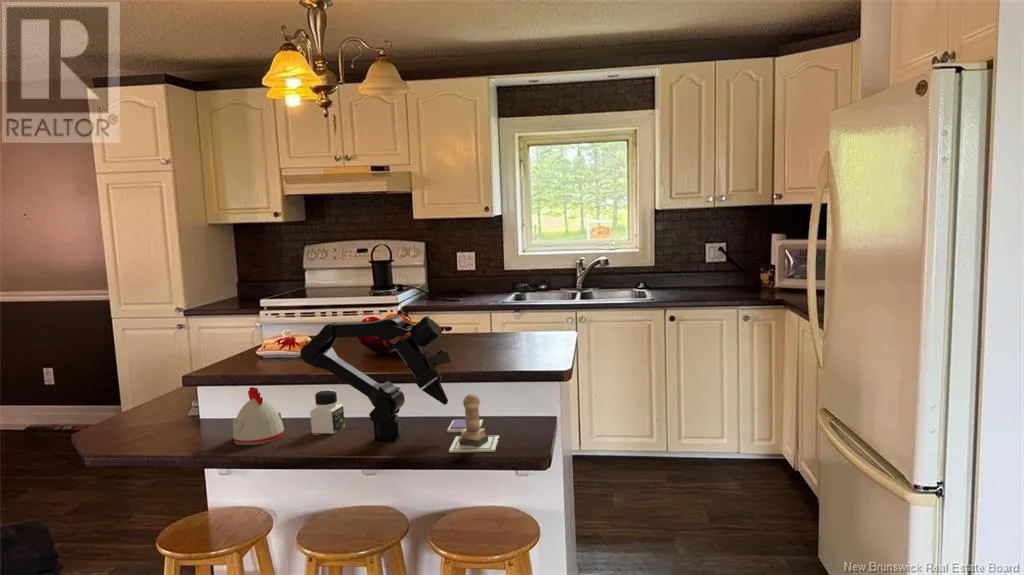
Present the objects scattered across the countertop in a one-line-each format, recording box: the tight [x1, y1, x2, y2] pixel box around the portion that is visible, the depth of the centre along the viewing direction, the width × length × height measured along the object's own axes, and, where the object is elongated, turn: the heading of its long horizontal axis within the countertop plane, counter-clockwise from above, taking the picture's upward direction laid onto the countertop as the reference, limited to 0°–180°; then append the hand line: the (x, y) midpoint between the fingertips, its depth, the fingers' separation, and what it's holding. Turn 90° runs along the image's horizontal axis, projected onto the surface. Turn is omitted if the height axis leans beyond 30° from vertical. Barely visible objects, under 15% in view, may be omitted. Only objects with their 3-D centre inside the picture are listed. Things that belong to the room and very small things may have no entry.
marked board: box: [448, 435, 500, 454], centre depth 173 cm, size 12×11×1 cm
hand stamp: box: [459, 393, 489, 447], centre depth 172 cm, size 6×5×13 cm
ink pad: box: [446, 418, 484, 433], centre depth 189 cm, size 9×9×1 cm
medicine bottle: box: [309, 389, 345, 435], centre depth 192 cm, size 7×7×12 cm
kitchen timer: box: [232, 386, 285, 442], centre depth 188 cm, size 14×14×15 cm
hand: (446, 402), depth 177 cm, fingers open, 9 cm apart
